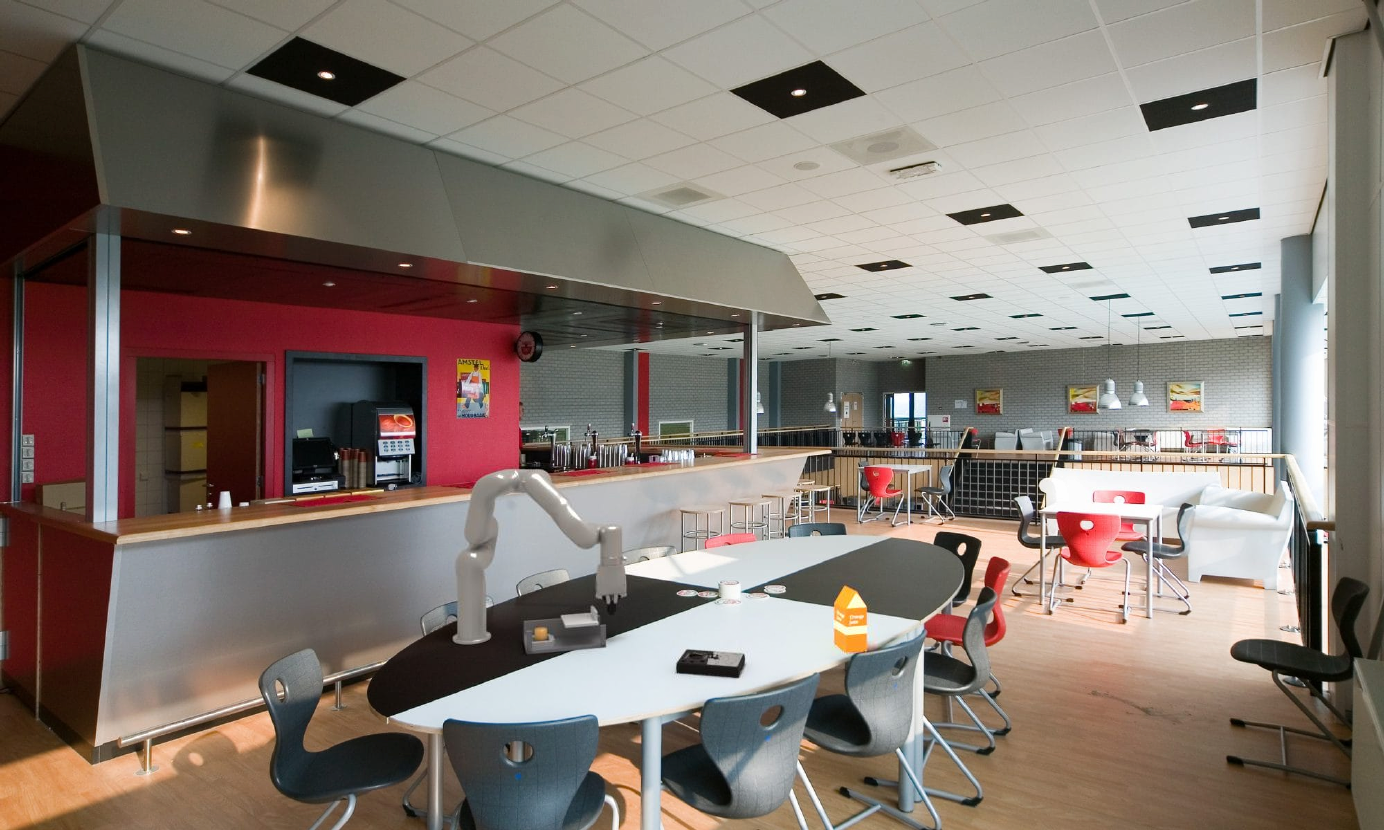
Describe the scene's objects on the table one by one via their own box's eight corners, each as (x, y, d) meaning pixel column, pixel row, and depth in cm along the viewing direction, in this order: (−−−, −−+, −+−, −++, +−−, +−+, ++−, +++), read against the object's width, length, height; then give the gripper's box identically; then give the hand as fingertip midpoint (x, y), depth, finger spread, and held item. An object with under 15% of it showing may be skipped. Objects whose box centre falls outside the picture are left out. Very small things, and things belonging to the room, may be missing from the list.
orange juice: (845, 653, 244) (845, 592, 244) (833, 645, 252) (833, 585, 252) (867, 651, 246) (867, 590, 246) (854, 643, 254) (854, 584, 254)
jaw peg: (534, 642, 251) (534, 627, 251) (546, 641, 252) (546, 626, 252) (534, 645, 247) (535, 630, 247) (547, 645, 248) (547, 630, 248)
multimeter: (685, 660, 238) (685, 644, 238) (745, 664, 234) (745, 648, 234) (675, 674, 226) (675, 657, 226) (738, 679, 221) (738, 662, 221)
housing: (523, 642, 255) (523, 621, 255) (599, 635, 262) (599, 615, 262) (526, 654, 242) (526, 631, 242) (606, 646, 250) (606, 625, 250)
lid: (560, 617, 258) (560, 606, 258) (592, 614, 261) (592, 604, 261) (565, 627, 246) (565, 616, 246) (598, 624, 249) (598, 613, 249)
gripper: (630, 557, 262) (630, 609, 262) (587, 560, 258) (587, 613, 258) (634, 561, 255) (634, 615, 255) (591, 564, 251) (591, 618, 251)
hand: (611, 614), depth 257 cm, fingers closed
